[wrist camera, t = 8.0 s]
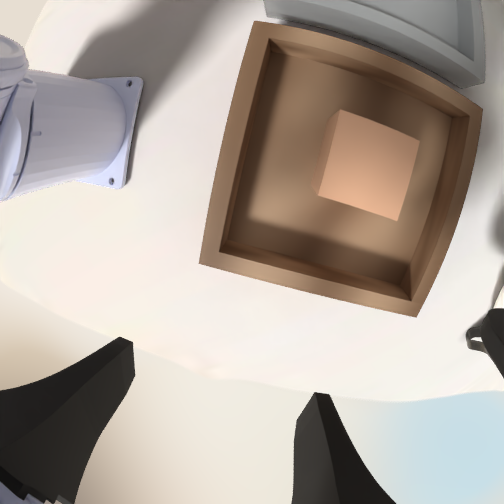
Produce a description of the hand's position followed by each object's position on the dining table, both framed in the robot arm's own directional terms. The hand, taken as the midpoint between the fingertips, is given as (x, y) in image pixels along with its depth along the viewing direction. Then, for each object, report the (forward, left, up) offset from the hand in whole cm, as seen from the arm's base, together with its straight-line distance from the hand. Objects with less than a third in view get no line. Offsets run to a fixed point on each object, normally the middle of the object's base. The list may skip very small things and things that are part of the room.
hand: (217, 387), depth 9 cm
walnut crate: (+4, +9, -10) cm, 14 cm away
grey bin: (+4, +25, -10) cm, 27 cm away
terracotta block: (+4, +9, -9) cm, 13 cm away
